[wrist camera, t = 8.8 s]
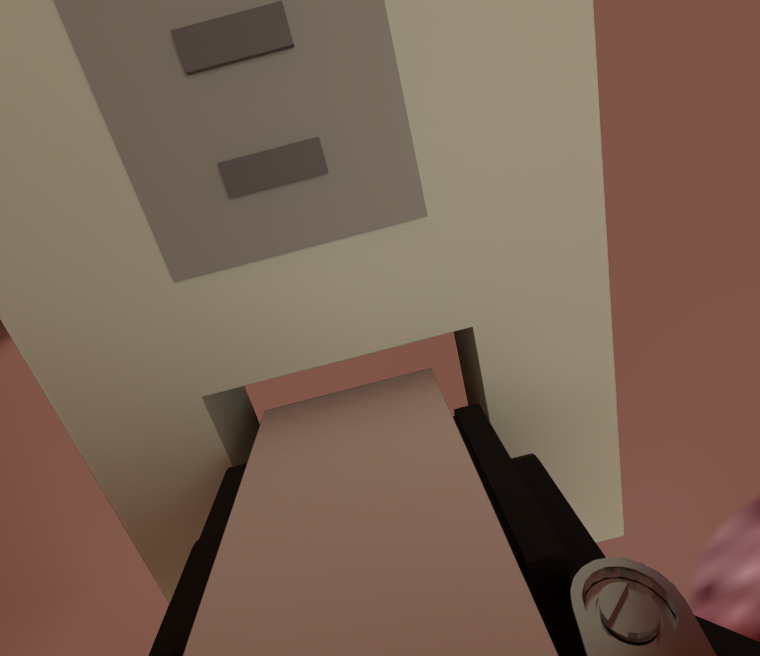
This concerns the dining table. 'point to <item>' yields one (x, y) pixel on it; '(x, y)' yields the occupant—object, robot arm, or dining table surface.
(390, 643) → the block
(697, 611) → the dining table surface
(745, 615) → the dining table surface
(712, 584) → the dining table surface
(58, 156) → the outlet board
